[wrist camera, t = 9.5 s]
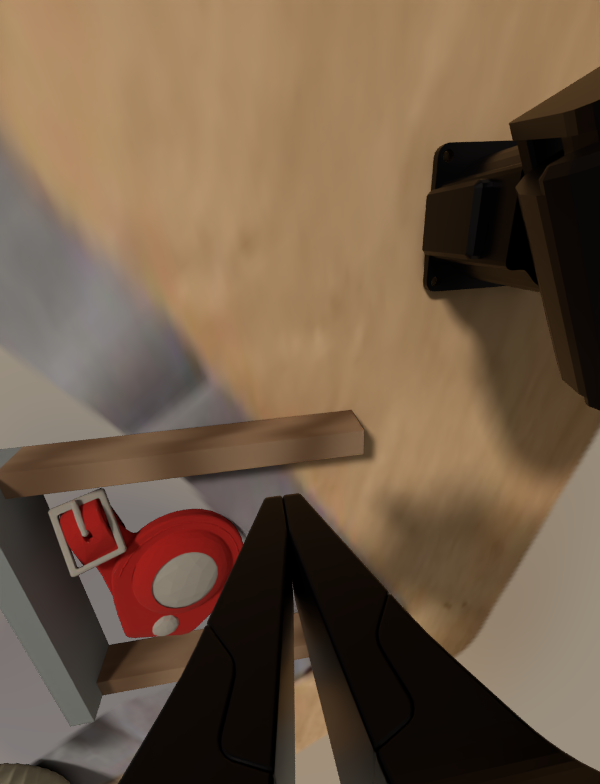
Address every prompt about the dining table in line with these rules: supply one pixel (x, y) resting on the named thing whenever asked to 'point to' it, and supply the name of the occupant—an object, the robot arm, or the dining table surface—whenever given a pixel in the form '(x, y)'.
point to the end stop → (49, 606)
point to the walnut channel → (171, 460)
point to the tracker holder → (150, 562)
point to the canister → (28, 775)
